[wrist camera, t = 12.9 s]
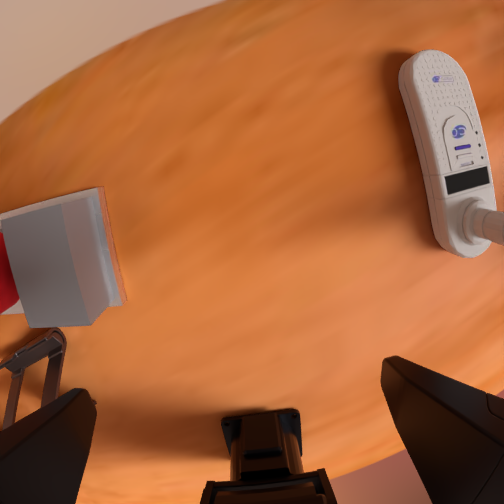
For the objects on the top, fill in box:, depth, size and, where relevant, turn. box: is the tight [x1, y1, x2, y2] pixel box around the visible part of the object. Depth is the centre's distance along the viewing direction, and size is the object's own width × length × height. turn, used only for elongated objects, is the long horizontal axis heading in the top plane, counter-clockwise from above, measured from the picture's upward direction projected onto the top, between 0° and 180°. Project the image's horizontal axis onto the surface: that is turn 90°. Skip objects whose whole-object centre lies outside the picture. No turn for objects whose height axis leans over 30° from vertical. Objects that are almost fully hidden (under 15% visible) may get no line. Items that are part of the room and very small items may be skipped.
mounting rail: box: [0, 186, 127, 315], centre depth 20 cm, size 8×21×1 cm, turn 97°
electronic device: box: [398, 49, 504, 258], centre depth 15 cm, size 5×10×15 cm
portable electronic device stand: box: [0, 327, 97, 430], centre depth 19 cm, size 9×8×8 cm
